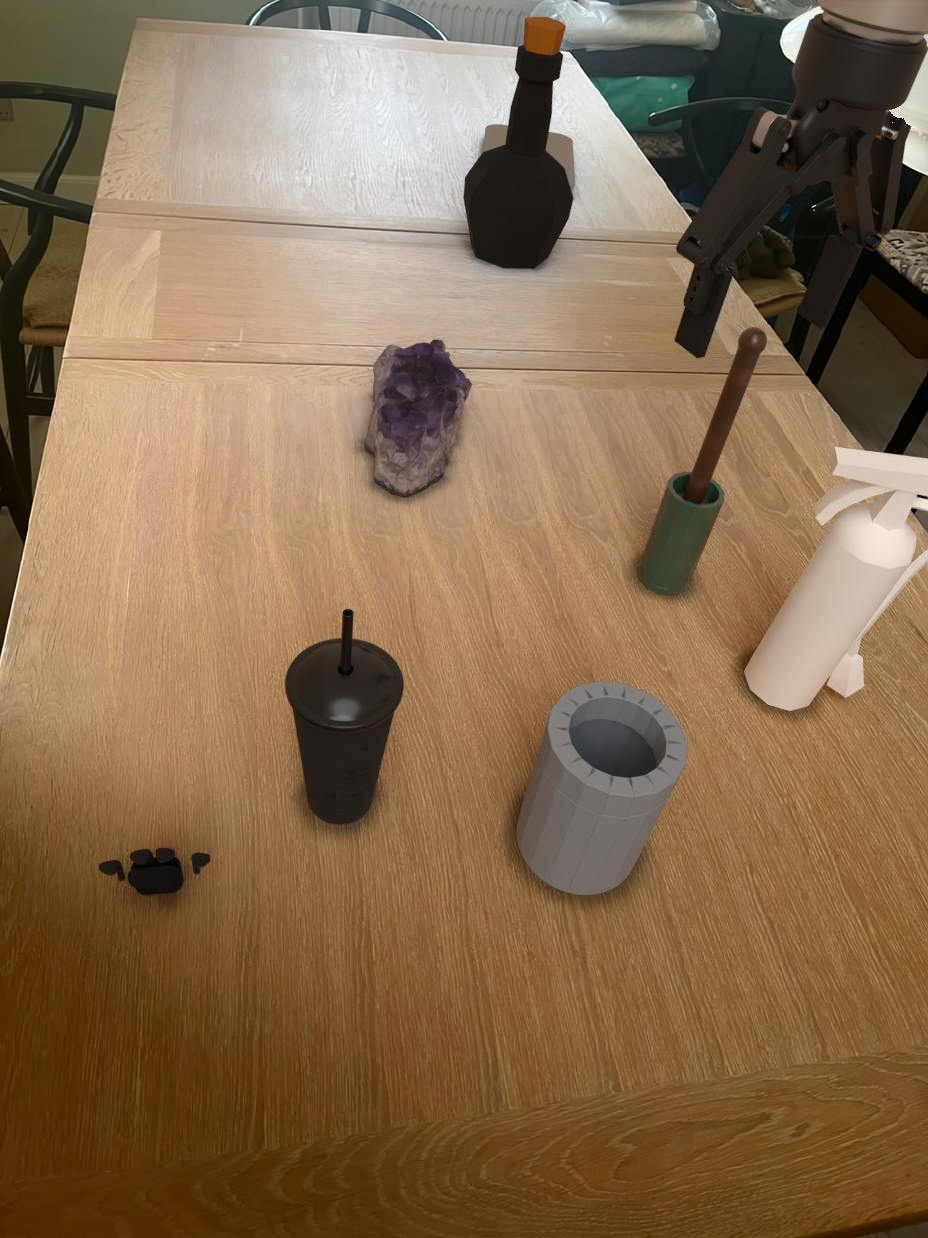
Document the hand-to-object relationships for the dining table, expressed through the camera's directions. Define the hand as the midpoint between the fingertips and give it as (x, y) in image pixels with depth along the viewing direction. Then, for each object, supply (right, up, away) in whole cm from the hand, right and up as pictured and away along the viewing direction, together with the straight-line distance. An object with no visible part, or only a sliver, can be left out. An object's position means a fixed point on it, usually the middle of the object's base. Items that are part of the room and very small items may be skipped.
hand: (752, 334), depth 72 cm
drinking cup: (-32, -36, -3) cm, 48 cm away
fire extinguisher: (+7, -29, +11) cm, 31 cm away
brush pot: (-3, -18, +19) cm, 26 cm away
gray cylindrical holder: (-14, -39, -3) cm, 42 cm away
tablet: (-12, +58, +91) cm, 108 cm away
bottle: (-16, +33, +66) cm, 76 cm away
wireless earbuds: (-43, -41, -10) cm, 61 cm away
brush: (-3, -18, +18) cm, 26 cm away
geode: (-28, -3, +29) cm, 41 cm away
